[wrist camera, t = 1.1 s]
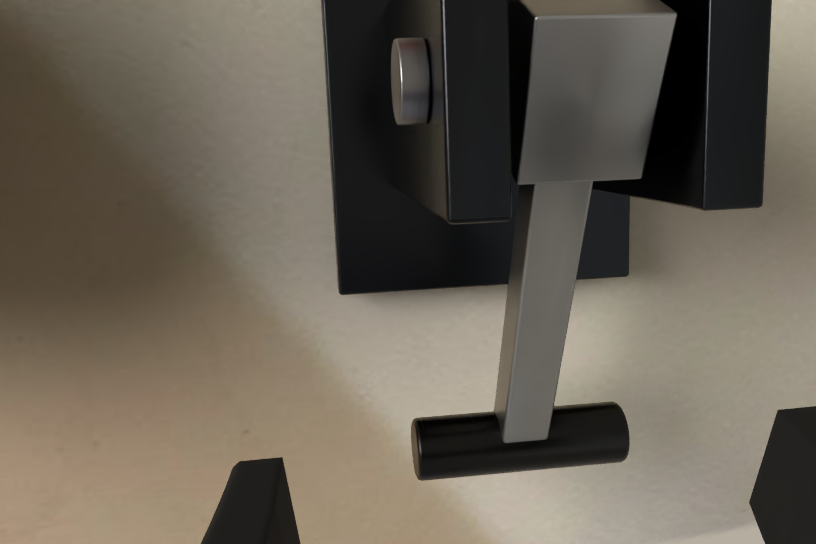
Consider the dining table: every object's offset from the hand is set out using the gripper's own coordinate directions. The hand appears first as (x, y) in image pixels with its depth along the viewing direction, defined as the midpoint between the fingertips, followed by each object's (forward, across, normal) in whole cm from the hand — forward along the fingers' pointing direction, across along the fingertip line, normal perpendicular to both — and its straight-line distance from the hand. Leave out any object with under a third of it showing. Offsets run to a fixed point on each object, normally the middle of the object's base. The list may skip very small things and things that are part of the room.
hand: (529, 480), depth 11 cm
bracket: (+12, -1, -1) cm, 12 cm away
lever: (+6, -1, 0) cm, 6 cm away
